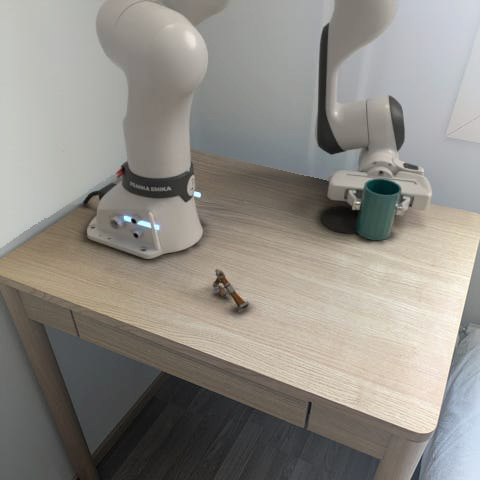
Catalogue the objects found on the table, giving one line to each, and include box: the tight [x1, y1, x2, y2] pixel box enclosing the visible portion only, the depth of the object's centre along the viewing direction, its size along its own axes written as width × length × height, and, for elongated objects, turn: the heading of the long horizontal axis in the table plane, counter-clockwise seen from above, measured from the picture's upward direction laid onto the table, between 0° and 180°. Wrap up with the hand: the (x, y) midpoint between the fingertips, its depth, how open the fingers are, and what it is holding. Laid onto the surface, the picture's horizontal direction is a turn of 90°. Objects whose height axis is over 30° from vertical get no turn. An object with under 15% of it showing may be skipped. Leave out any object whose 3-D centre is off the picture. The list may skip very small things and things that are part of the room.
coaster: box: [320, 206, 359, 235], centre depth 102 cm, size 10×10×1 cm
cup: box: [356, 179, 402, 241], centre depth 95 cm, size 7×7×10 cm
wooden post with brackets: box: [212, 268, 250, 313], centre depth 81 cm, size 2×8×4 cm, turn 40°
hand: (378, 209), depth 94 cm, fingers closed on cup, 7 cm apart
